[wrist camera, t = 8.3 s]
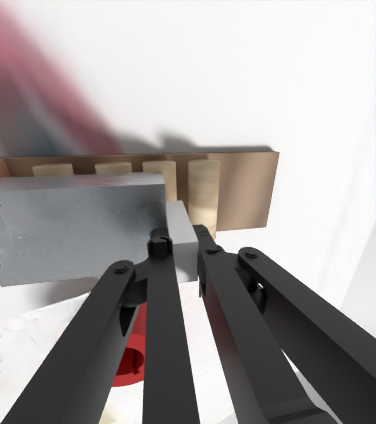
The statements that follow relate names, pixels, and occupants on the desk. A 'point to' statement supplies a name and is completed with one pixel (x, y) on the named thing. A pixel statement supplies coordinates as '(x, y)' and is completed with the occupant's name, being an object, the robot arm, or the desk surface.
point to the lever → (133, 353)
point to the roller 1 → (53, 169)
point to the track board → (228, 181)
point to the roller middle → (164, 175)
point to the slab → (76, 224)
